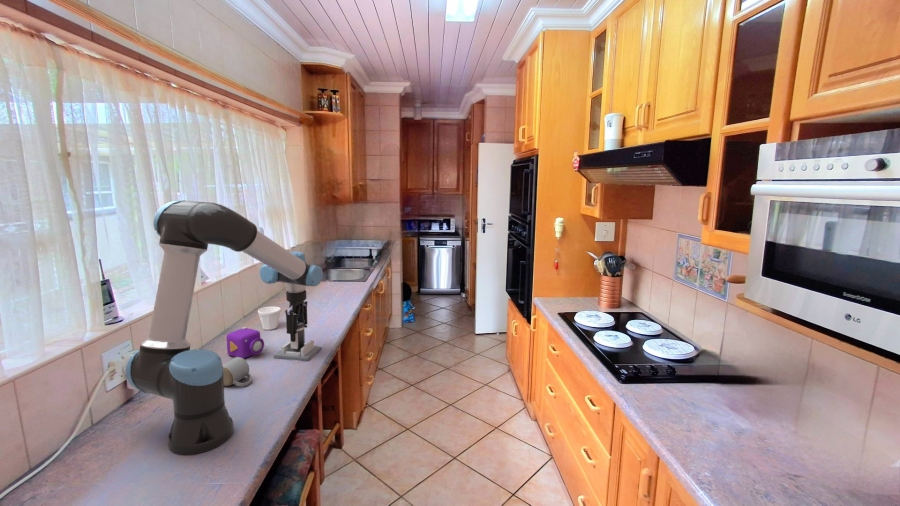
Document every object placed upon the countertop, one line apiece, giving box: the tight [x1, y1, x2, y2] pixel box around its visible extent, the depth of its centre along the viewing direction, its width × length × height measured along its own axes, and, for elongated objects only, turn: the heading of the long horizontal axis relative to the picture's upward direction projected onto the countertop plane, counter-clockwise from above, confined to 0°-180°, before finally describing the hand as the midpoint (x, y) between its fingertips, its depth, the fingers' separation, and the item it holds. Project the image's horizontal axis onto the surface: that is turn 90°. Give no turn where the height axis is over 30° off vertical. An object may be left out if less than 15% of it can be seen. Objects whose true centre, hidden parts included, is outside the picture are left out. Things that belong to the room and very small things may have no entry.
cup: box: [257, 306, 282, 331], centre depth 192 cm, size 10×10×9 cm
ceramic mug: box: [222, 357, 252, 387], centre depth 140 cm, size 11×8×8 cm
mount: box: [273, 339, 322, 362], centre depth 166 cm, size 12×14×4 cm
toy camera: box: [226, 326, 265, 360], centre depth 163 cm, size 11×14×10 cm
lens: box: [293, 321, 305, 350], centre depth 165 cm, size 5×5×10 cm
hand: (298, 345), depth 165 cm, fingers closed on lens, 5 cm apart
